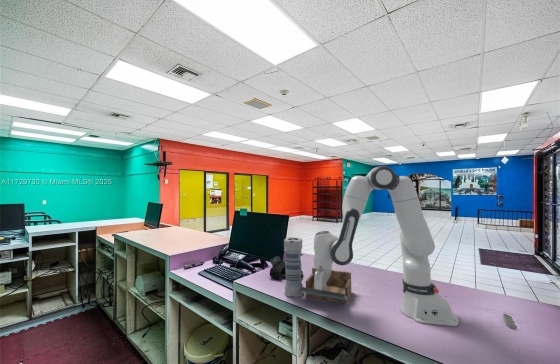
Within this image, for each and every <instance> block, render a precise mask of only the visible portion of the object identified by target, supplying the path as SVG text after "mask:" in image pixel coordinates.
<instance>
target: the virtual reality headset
mask: <svg viewBox="0 0 560 364" xmlns="http://www.w3.org/2000/svg"><path fill="white" fill-rule="evenodd" d="M269 263H270V264H271V265H272V266H271V267H270V269H269V276H270V278H273V279H276V280H278V281H280V280H284V281H286V266H285V261H283V260H282V259H281V257H280V256H278V255H277V256H274V257H273V258H271V259H269ZM303 278H304V272H303V270H302V269H301V279H303Z"/></svg>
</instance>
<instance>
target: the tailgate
mask: <svg viewBox="0 0 560 364" xmlns="http://www.w3.org/2000/svg"><path fill="white" fill-rule="evenodd" d="M300 290H301V291H302V292H303V293H304V294H305V295H306V294H311V295H316V296H322V297H328V298H334V299H339V300H345V301H347V297H346V296H345V294H341V293H335V292H329V291H323V290H317V289H311V288H306V286H305V287H304V286H303V287H300Z"/></svg>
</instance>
